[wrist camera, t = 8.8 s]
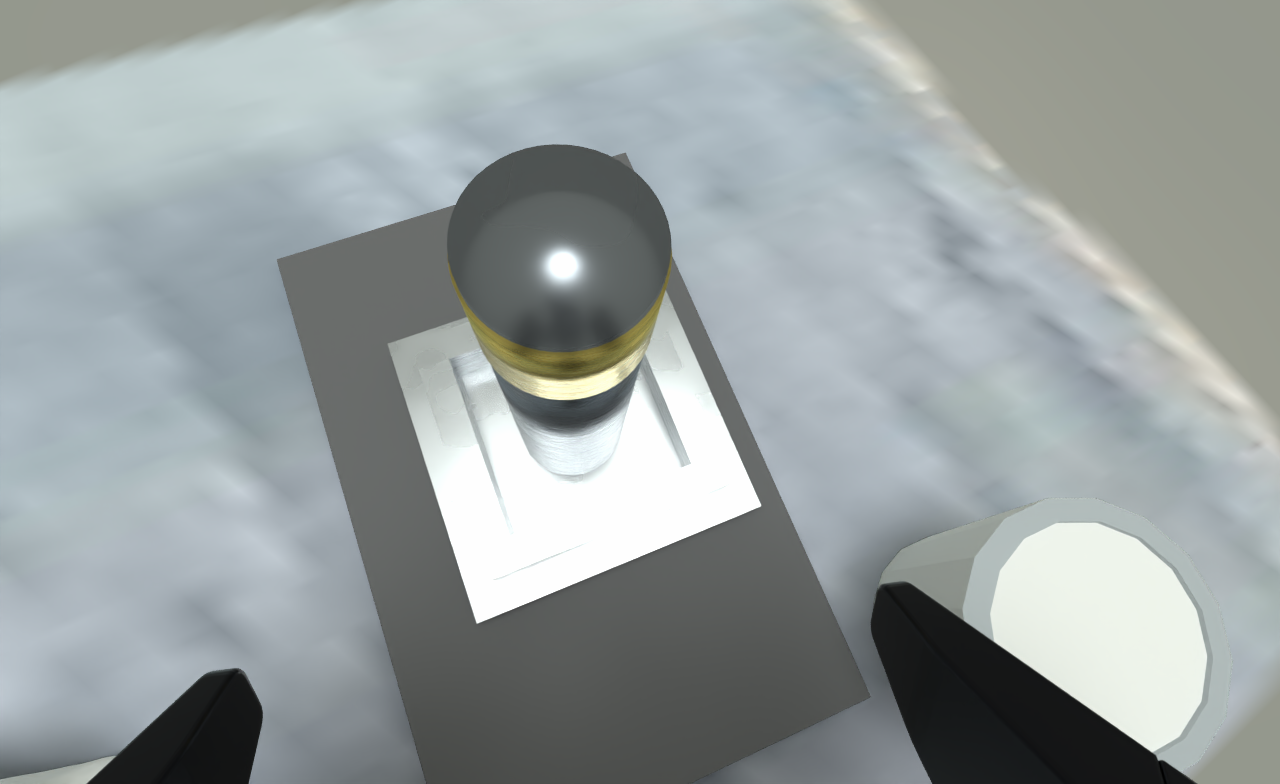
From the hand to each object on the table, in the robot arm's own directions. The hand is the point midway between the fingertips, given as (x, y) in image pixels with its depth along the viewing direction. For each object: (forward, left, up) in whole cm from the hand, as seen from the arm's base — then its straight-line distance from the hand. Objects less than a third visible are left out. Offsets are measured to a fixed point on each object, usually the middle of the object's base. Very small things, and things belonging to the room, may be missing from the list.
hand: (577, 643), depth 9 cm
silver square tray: (+6, -2, -13) cm, 14 cm away
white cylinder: (-5, -12, -13) cm, 19 cm away
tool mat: (+5, -1, -13) cm, 14 cm away
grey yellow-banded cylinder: (+6, -2, -12) cm, 13 cm away
